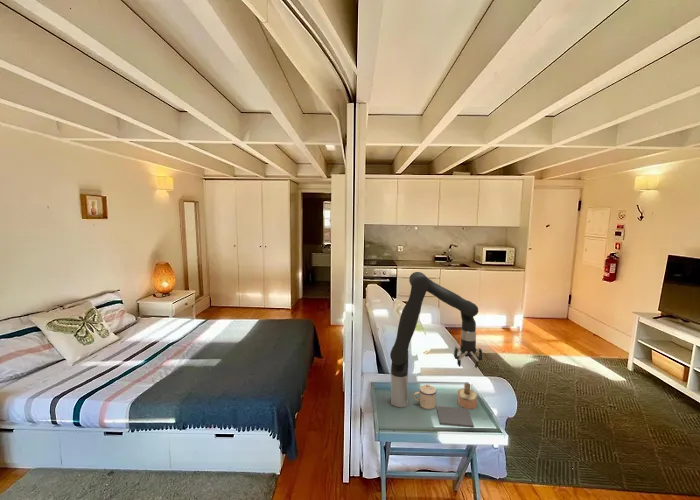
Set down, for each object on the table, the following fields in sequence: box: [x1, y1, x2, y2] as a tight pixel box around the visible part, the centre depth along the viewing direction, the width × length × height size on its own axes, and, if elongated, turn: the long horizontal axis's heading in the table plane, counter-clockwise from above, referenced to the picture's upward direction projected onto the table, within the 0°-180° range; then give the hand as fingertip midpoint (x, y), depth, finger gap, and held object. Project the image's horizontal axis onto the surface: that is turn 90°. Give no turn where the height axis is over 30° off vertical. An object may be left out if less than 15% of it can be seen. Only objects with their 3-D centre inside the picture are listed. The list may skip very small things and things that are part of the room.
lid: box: [457, 382, 478, 401], centre depth 169 cm, size 10×10×6 cm
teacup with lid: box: [413, 383, 437, 410], centre depth 169 cm, size 12×9×12 cm
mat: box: [436, 405, 475, 428], centre depth 158 cm, size 16×14×1 cm
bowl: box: [457, 395, 478, 410], centre depth 169 cm, size 9×9×5 cm
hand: (467, 366), depth 168 cm, fingers open, 8 cm apart
